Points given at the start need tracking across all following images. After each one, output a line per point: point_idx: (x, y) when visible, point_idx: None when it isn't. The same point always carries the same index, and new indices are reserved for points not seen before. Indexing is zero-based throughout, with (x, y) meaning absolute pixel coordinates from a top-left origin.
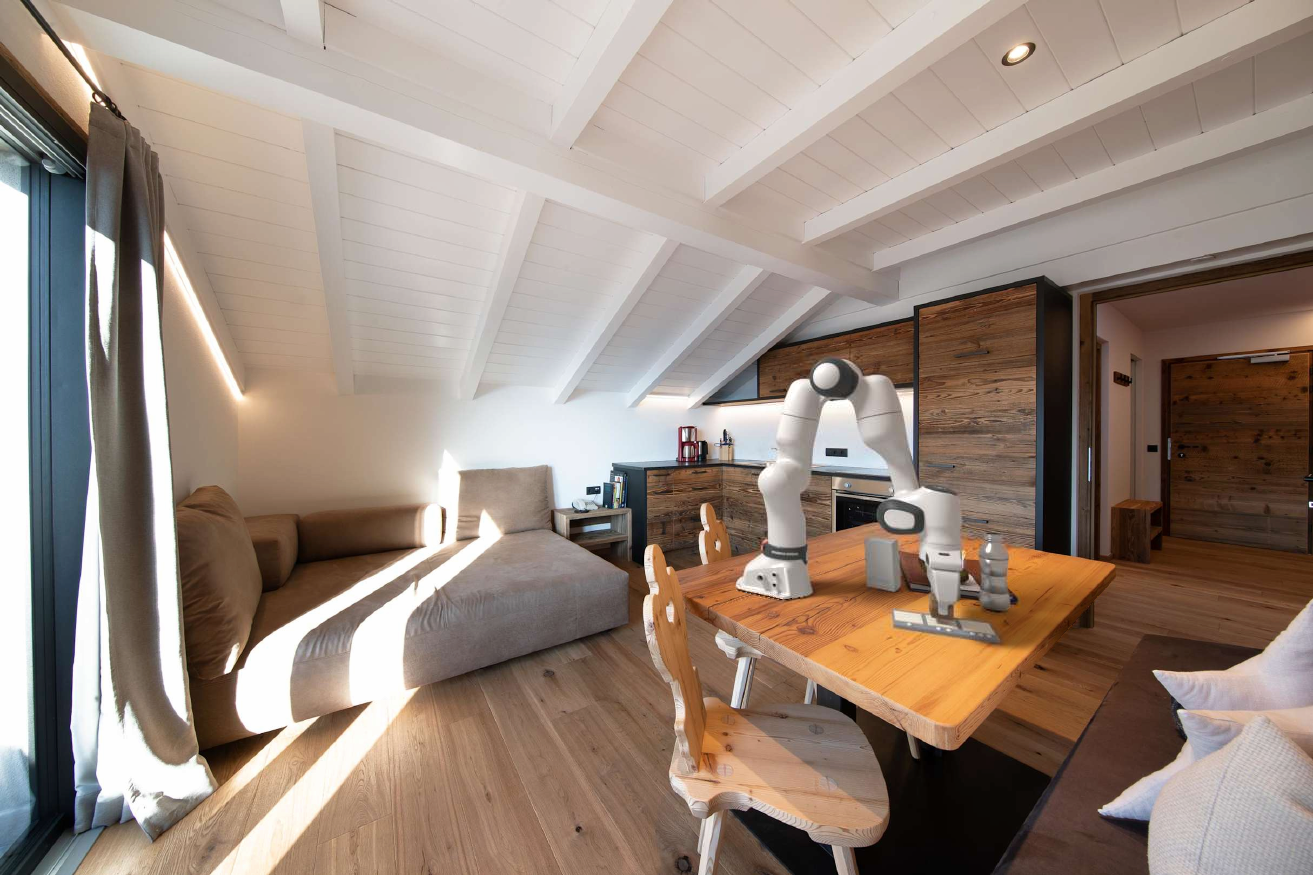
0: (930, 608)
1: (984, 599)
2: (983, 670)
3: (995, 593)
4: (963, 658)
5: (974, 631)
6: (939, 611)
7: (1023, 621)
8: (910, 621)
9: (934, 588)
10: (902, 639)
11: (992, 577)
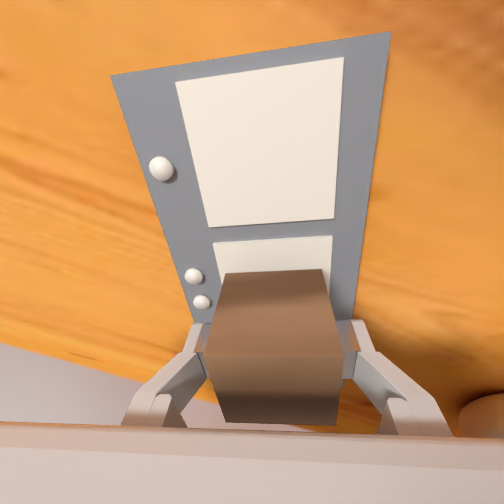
0: (265, 292)
1: (501, 429)
2: (30, 331)
3: None
4: (55, 306)
5: None
6: (190, 332)
7: None
8: (202, 171)
9: (66, 500)
10: (16, 133)
11: None
